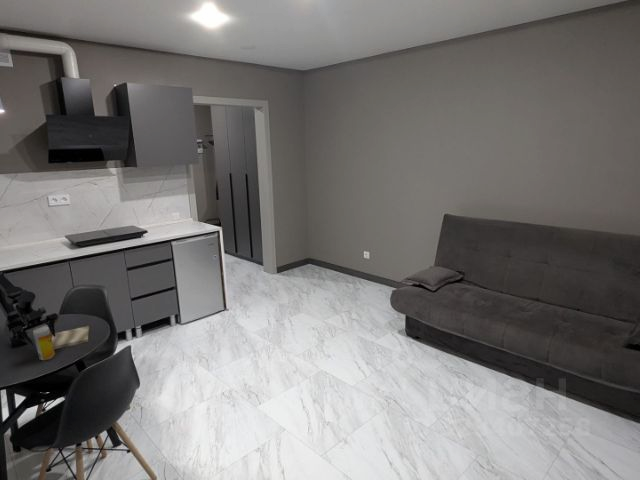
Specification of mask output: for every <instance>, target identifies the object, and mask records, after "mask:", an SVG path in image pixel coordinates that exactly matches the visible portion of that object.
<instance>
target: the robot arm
mask: <svg viewBox="0 0 640 480" xmlns="http://www.w3.org/2000/svg"><path fill="white" fill-rule="evenodd" d="M35 300H36V294H35V293H34V292H33V291H28V290H27V289H23V288H22V287H20V286H16V285H14V284H13V283H12V282H11V281H10V280H9V279H8V278H7V277H6V276H5V274H4V272H3V271H0V310H1V311H2V313H3V314H4V316H5V322H4V324H5V327H4V330H3V331H4V333H5V335H6V336H8V337H9V339H10V343H11V345H10V348H16V347H22V346H25V345H30V346H34V343H33V340H31V338H30V336H29V330H33V329H34V328H35V327H38V326H41V325H47V326H48V327H49V330H50V334H51V336H54V337H55V333H56V331H55V330H56V329H55V325H56V323H57V322H58V320H59V315H58V314H57V313H55V312H54V313H50V314H48V315H46V318H44V319H42V318H43V316H44V314H47V310H46V309H45V307H44V306H41V307H39V308H38V309H34V307H33V305H34V303H35ZM14 305H15V306H14Z"/></svg>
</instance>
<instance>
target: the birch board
mask: <svg viewBox="0 0 640 480" xmlns="http://www.w3.org/2000/svg"><path fill="white" fill-rule="evenodd" d="M89 337H90V325H87V326H82V327H77V328H74V329H67V330H63V331H58V332H55V337H54V336H53V335H51V339H52V343H53V347H54V350H57V349H63V348H66V347H71V346H75V345H80V344H83V343H84V344H85V343H89Z"/></svg>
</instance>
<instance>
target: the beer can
mask: <svg viewBox="0 0 640 480" xmlns="http://www.w3.org/2000/svg"><path fill="white" fill-rule="evenodd" d="M32 330H33V331H32V334H33V338H34V342H35V347H36V351H37V354H38V358H39V360H41V361H48V360H52V359H53V358H54V357H55V355H56V353H55V349H54V347H53V343H52V334H51V332H50V330H49V327H48V325H47V324H43V325H40V326H37V327H35V328H32Z"/></svg>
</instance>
